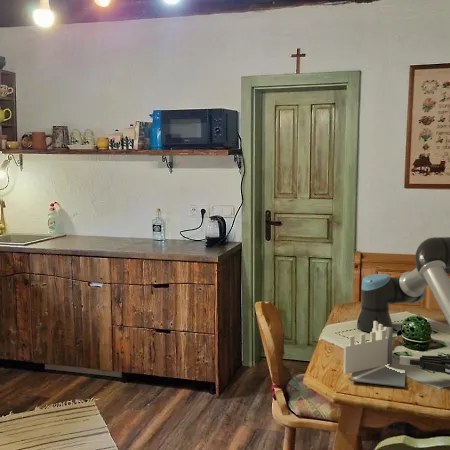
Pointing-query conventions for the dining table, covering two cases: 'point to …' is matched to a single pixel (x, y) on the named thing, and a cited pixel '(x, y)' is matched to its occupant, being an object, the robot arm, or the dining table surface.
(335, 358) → the dining table surface
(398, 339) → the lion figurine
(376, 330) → the fixed fence section
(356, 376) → the card
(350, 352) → the panel
